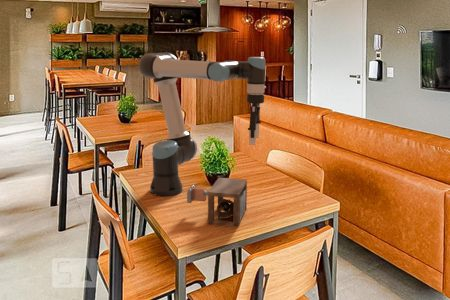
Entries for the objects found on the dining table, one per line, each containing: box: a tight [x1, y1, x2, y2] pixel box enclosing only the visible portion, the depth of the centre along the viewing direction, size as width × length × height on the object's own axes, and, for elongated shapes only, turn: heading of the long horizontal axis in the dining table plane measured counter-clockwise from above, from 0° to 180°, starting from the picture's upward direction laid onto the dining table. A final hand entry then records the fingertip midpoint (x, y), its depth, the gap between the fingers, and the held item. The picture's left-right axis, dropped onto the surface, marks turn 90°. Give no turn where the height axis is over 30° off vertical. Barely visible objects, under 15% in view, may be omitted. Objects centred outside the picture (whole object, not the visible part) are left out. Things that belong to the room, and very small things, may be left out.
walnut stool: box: [207, 177, 248, 228], centre depth 169 cm, size 12×18×13 cm, turn 168°
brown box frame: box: [186, 184, 246, 222], centre depth 170 cm, size 22×12×10 cm, turn 78°
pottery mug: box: [216, 198, 234, 220], centre depth 170 cm, size 12×10×8 cm
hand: (254, 141), depth 188 cm, fingers open, 13 cm apart
